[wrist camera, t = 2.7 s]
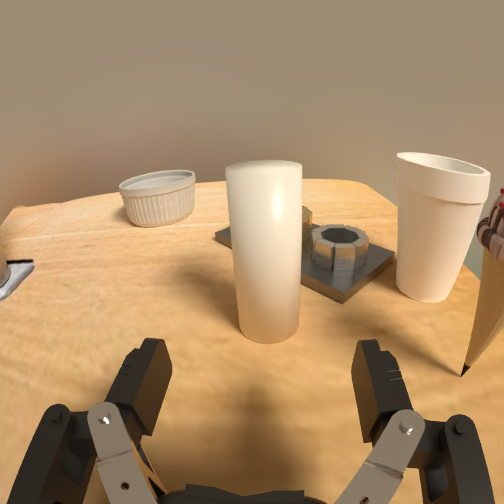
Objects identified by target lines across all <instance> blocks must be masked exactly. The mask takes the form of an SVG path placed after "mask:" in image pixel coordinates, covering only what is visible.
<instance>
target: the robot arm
mask: <svg viewBox="0 0 504 504" xmlns="http://www.w3.org/2000/svg"><path fill="white" fill-rule="evenodd" d="M9 276H10V271H9V268H8V265H7V263H6V260H5V257H4V254H3V251H2V248H1V245H0V287H1V286H2V285H3V284H4V283H5V282H6V281H7V280H8V278H9ZM171 375H172V363H171V360H170V357H169V354H168V351H167V347H166V344H165V341H164V340H163V339H156V338H145V339H144V341H143V343H142V345H141V347H140V349H137V348H135V349H133V350H132V351H131V352H130V353H129V354H128V355H127V356H126V358H125V360H124V362H123V364H122V367H121V368H120V370H119V372H118V374H117V376H116V378H115V380H114V382H113V384H112V386H111V388H110V391H109V393H108V395H107V397H106V399H105V401H104V402H101V403H98V404H96V405H94V406H93V407H92V408H91V409H90V410H89V411H83V412H71V411H70V410H69V409H68V408H67V407H66V406H65V405H63V404H55V405H52V406H50V407H49V408H48V409H47V410H46V411H45V413H44V415H43V417H42V419H41V421H40V423H39V425H38V427H37V429H36V432H35V434H34V436H33V438H32V440H31V443H30V445H29V447H28V450H27V452H26V454H25V457H24V459H23V461H22V464H21V466H20V469H19V471H18V474H17V476H16V479H15V482H14V484H13V487H12V490H11V493H10V495H9V498H8V501H7V504H83V500H84V497H85V493H86V490H87V486H88V483H89V480H90V476H91V473H92V470H93V467H94V464H95V460H96V457H97V456H98V457H99V461H97V462H96V466H97V470H98V472H99V475H100V478H101V481H102V484H103V486H104V489H105V492H106V494H107V497H108V499H109V502H110V504H327V503H325V502H323V501H321V500H319V499H316V498H312V497H309V496H304V490H299V491H272V492H267V493H261V494H256V495H250V496H240V495H236V494H233V493H230V492H227V491H224V490H221V489H217V488H215V487H206V486H199V485H192V484H186V488H185V489H184V490H177V491H173V492H169V493H168V492H167V490H166V488H165V487H164V485H163V484H162V482H161V481H160V479H159V478H158V476H157V474H156V472H155V470H154V468H153V466H152V464H151V462H150V460H149V458H148V456H147V454H146V452H145V450H144V448H143V445H142V443H141V442H140V441H141V438H142V435H147V436H152V433H153V430H154V427H155V424H156V421H157V418H158V415H159V412H160V409H161V406H162V403H163V399H164V396H165V393H166V391H167V388H168V385H169V382H170V379H171ZM351 375H352V382H353V387H354V392H355V397H356V403H357V408H358V413H359V419H360V425H361V430H362V436H363V442H364V443H369V442H372V447H373V449H372V451H371V453H370V454H369V456H368V457H367V459H366V460H365V462H364V463H363V465H362V466H361V468H360V469H359V471H358V472H357V473H356V475H355V476H354V478H353V479H352V480H351V482H350V483H349V485H348V486H347V487H346V489H345V490H344V491H343V493H342V494H341V495H340V497H339V498H338V499H337V500H336V502H335V503H334V504H388V503H389V502H390V500H391V498H392V497H393V495H394V493H395V492H396V490H397V488H398V487H399V485H400V483H401V481H402V479H403V473H404V471H405V469H406V468H417V469H419V474H420V481H421V489H422V496H423V504H495V501H494V496H493V491H492V486H491V481H490V477H489V473H488V469H487V465H486V461H485V457H484V454H483V450H482V446H481V443H480V440H479V436H478V433H477V430H476V427H475V424H474V422H473V421H472V420H471V419H470V418H469V417H467V416H465V415H461V414H458V415H454V416H452V417H450V418H449V419H448V420H447V422H439V421H429V420H425V419H423V417H422V416H421V415H420V414H419V413H417V412H416V411H414V410H413V408H412V405H411V402H410V399H409V395H408V392H407V389H406V386H405V383H404V380H403V379H402V375H401V372H400V371H399V366H398V363H397V361H396V359H395V357H394V356H393V355H392V354H391V353H390V352H389V351H381V350H380V347H379V344H378V341H377V340H376V339H372V340H359V341H358V342H357V346H356V350H355V355H354V359H353V363H352V369H351Z"/></svg>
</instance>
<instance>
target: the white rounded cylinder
mask: <svg viewBox="0 0 504 504" xmlns="http://www.w3.org/2000/svg"><path fill="white" fill-rule="evenodd" d="M225 171H226V184H227V196H228V208H229V220H230V231H231V243H232V254H233V265H234V275H235V286H236V296H237V306H238V316H239V326H240V330H241V332H242V333H243V334H244V336H246V337H247V338H248V339H250V340H252V341H255V342H259V343H266V344H271V343H278V342H282V341H285V340H287V339H288V338H290V337H291V336H293V335H294V334H295V333H296V331H297V329H298V326H299V309H300V285H301V251H302V165H301V164H299V163H296V162H292V161H284V160H255V161H246V162H240V163H236V164H232V165H230V166H228V167H226V168H225Z"/></svg>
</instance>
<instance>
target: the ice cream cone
mask: <svg viewBox="0 0 504 504" xmlns="http://www.w3.org/2000/svg"><path fill="white" fill-rule="evenodd" d="M500 193H501V194H500V195H499V196H498V197H497V199H496V200H495V201H494V203H493V206H492V208H491V211H490V214H489V217H487V218H484V219H483V220H482V221H480V223H479V224H478V228H477V237H478V240H479V242H480V243H481V244H482V245H483V246H484V253H483V265H482V274H481V282H480V290H479V296H478V303H477V309H476V314H475V319H474V325H473V329H472V334H471V339H470V343H469V347H468V351H467V355H466V359H465V363H464V366H463V370H462V373H461V377H462V376H463V375H464V373H465V372H466V371H467V370H468V369H469V368H470V367H471V366H472V365H473V363H474V362H475V361H476V360H477V359H478V358H479V357H480V355H481V354H482V353H483V352H484V351H485V349H486V348H487V347H488V346H489V345H490V343H491V342H492V341H493V340H494V338H495V337H496V336H497V334H498V333H499V332H500V330H501V329H502V328H503V326H504V188H501V191H500Z"/></svg>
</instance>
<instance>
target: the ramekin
mask: <svg viewBox="0 0 504 504" xmlns="http://www.w3.org/2000/svg"><path fill="white" fill-rule="evenodd" d="M195 181H196V178H195V173H194V172H192V171H188V170H168V171H160V172H154V173H149V174H144V175H140V176H137V177H134V178H131V179H128V180H126V181H124V182H122V183H121V184H120V185H119V192H120V194H121V195H122V198H123V202H124V205H125V209H126V212H127V215H128V217H129V219H130V220H131V222H133V223H134V224H135V225H137V226H140V227H159V226H165V225H170V224H173V223H176V222H179V221H181V220H183V219H185V218H187V217H188V216H189V215H190V214H191V212H192V211H193V208H194V183H195Z"/></svg>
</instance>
